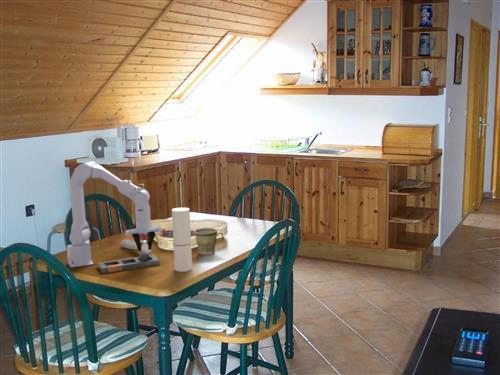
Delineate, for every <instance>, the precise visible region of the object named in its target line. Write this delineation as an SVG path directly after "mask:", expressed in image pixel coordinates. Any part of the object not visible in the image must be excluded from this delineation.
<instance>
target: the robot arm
mask: <svg viewBox="0 0 500 375" xmlns="http://www.w3.org/2000/svg"><path fill="white" fill-rule="evenodd" d="M89 178H92V179H102V180H104V181H106V182H107V183H109V184H111V185H113V186H115V187H116V188H117V190H118V192H120V194H122V195H124V196H125V197H127V198H129V199H130V200H132V201H133V204H134V209H135V210H134V211H135V225H136V228H131V229H126V230H125V236H127V237H130V236H131V237H132V238H133V241H134V242H135V243H136V245H137V249H138V250H137V251H140V250H141V249H140V236H139V235H138V234H144V233H147V236H148V241H149V250H151V251H152V246H153V243H154V239H155V238H156V233H161V232H162V229H161V228H162V227H160V226H151V227H150V224H151V218H150V216H149V202H150V201H149V200H150V197H151V195H150V192H149V191H148V190H147V189H146V188H144V189H141V187H139V186H137V185H135V184H134V183H132V180H130V179H129V180H127V179H123V180H122V179H120V178H119V177H118V176H116V175H115V174H113V172H112V173H111V172H110V171H109V170H107V169H106V168H105V167H103V166H102V165H101V164H99V163H96V162H95V161H93V160H88V161H86V162H84V163H81V164H79V165H78V166H76V167H75V168H74V171H73V173H72V175H71V177H70V179H69V191H70V202H71V214H72V224H71V228H70V234H69V242H71V244H68V245H67V246H66V253H67V263H68V265H69V267H70V268H77V267H84V266H85V267H87V266H92V265H94V261H92V255H91V254H92V253H91V245H90V244H91V243H90V237H91V235H92V231H91V229H90V227H89V223H88V221H87V219H86V207H85V206H86V205H85V195H84V183H85V182H86V181H87V180H88V179H89ZM147 201H149V202H147Z"/></svg>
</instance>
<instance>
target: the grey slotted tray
mask: <svg viewBox="0 0 500 375" xmlns="http://www.w3.org/2000/svg"><path fill="white" fill-rule="evenodd" d="M160 264H161V263H160V259H159V258H158V257H157V256H156V255H155V254H151V255H150V258H147V259H141V258H140V256H135V257H134V256H133V257H129V258H122V259H116V260H115V259H114V260H108V261H101V262H97V268H98V270H99V271H100V272H101V274H107V273H113V272H120V271H121V272H122V271H126V270H132V269H138V268H146V267H153V266H154V267H155V266H160Z"/></svg>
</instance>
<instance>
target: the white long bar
mask: <svg viewBox="0 0 500 375" xmlns="http://www.w3.org/2000/svg"><path fill="white" fill-rule="evenodd" d="M120 246H121V247H122V248H125V250H128V249H130V250H133V251H134V250H135V251H138V249H137V245H136V243H135V240H131V239H130V238H126V239H122V240H121V241H120ZM151 253H152V249H151V250H149V254H150V255H152V254H151ZM138 254H139V255H140V251H138Z"/></svg>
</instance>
